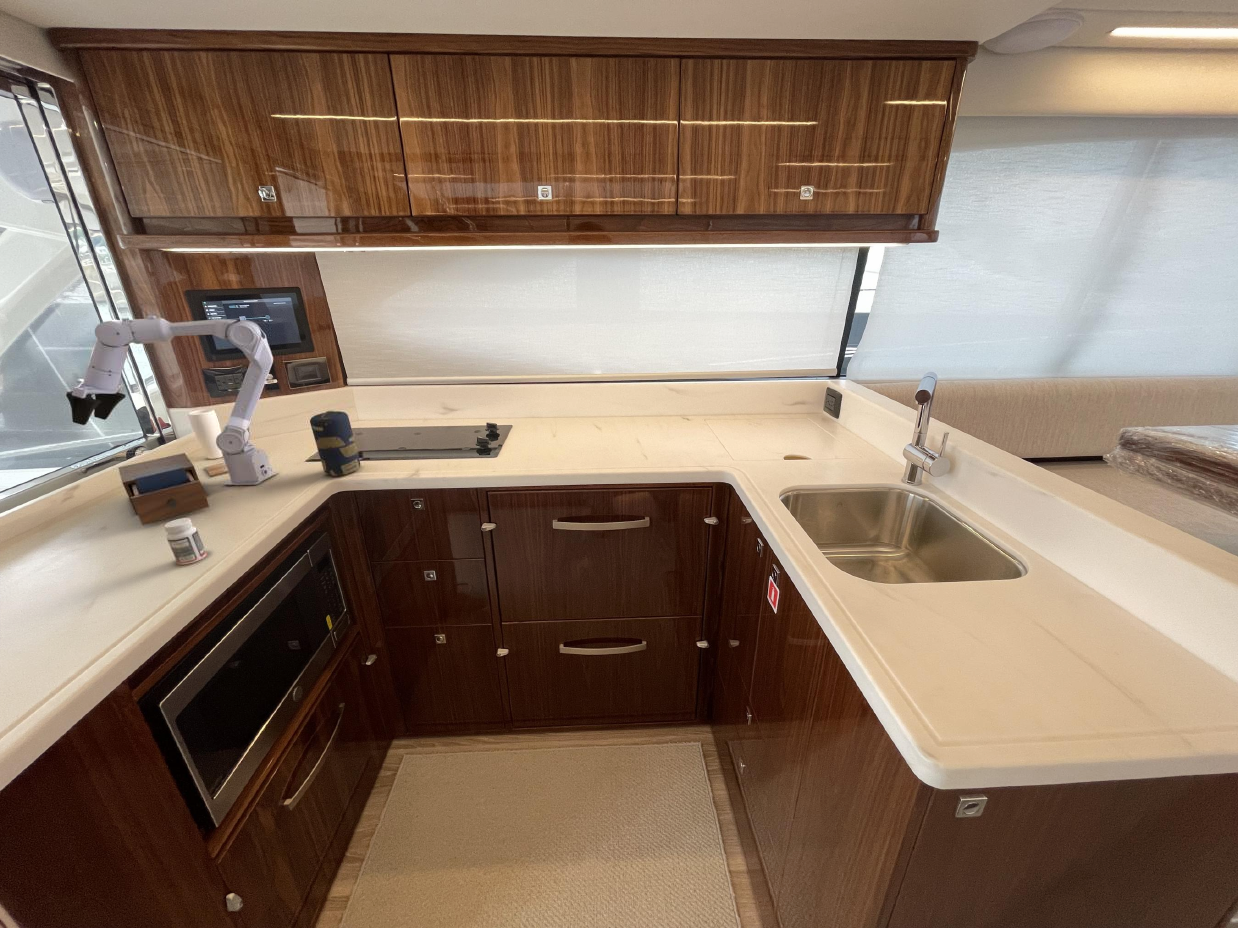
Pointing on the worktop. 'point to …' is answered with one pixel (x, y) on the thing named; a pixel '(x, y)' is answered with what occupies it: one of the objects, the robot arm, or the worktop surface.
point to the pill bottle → (184, 541)
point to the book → (161, 479)
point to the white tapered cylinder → (206, 431)
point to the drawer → (169, 501)
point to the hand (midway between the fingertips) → (89, 420)
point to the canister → (335, 442)
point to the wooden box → (153, 465)
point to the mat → (217, 469)
